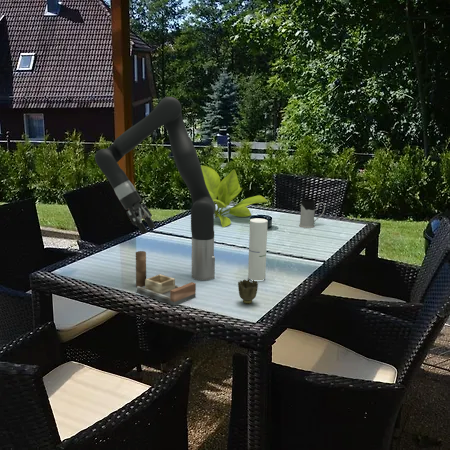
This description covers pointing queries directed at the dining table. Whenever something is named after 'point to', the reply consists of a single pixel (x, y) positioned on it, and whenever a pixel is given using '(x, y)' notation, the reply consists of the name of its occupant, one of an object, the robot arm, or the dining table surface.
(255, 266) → the cylindrical container
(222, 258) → the dining table surface
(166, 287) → the sliding block
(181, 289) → the rail board
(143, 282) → the dowel
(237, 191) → the artificial plant
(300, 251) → the dining table surface
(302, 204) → the grey mug
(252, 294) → the cup
